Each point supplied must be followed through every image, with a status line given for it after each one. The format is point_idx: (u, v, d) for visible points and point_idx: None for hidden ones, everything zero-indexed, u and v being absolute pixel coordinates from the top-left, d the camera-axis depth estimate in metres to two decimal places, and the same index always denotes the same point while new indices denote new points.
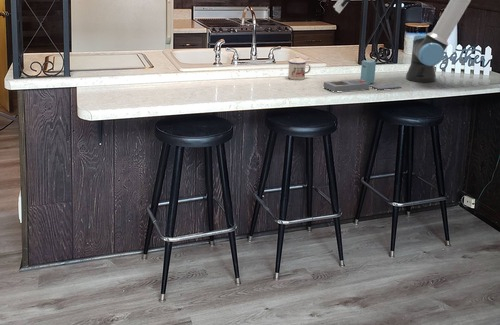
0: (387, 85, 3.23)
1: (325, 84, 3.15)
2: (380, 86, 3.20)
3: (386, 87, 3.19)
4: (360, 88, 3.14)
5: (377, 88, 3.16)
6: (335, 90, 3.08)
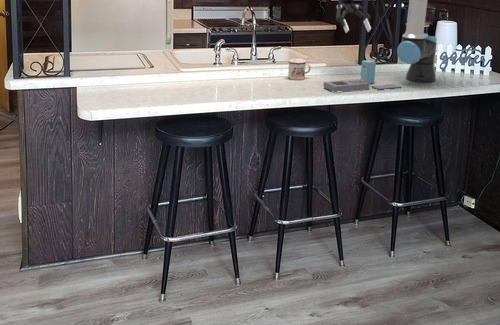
0: (387, 85, 3.23)
1: (325, 84, 3.15)
2: (380, 86, 3.20)
3: (386, 87, 3.19)
4: (360, 88, 3.14)
5: (377, 88, 3.16)
6: (335, 90, 3.08)
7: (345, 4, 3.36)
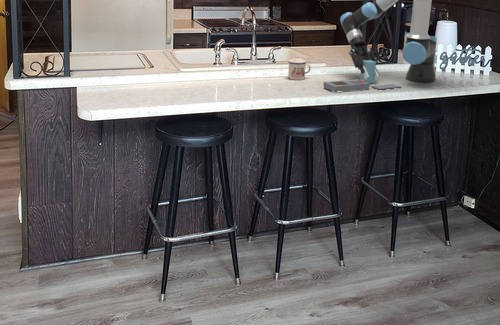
0: (387, 85, 3.23)
1: (325, 84, 3.15)
2: (380, 86, 3.20)
3: (386, 87, 3.19)
4: (360, 88, 3.14)
5: (378, 88, 3.16)
6: (335, 90, 3.08)
7: (356, 47, 3.31)
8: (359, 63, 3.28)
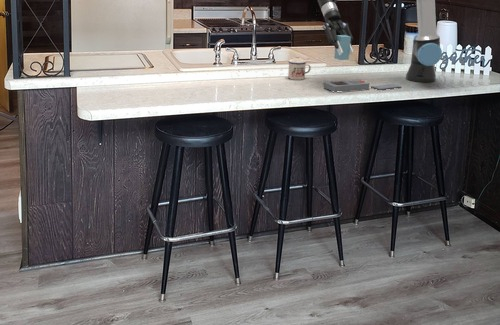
0: (387, 85, 3.23)
1: (325, 84, 3.15)
2: (380, 86, 3.20)
3: (386, 87, 3.19)
4: (360, 88, 3.14)
5: (378, 88, 3.16)
6: (335, 90, 3.08)
7: (330, 20, 3.13)
8: (333, 38, 3.09)
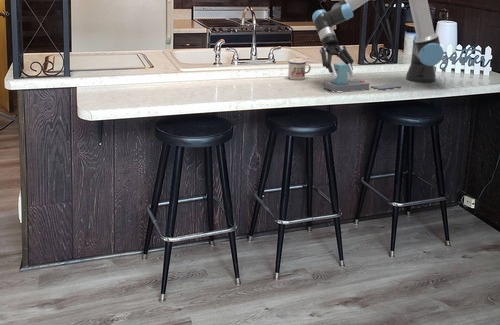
0: (386, 85, 3.23)
1: (325, 84, 3.15)
2: (380, 86, 3.20)
3: (386, 87, 3.19)
4: (360, 88, 3.14)
5: (378, 88, 3.16)
6: (335, 90, 3.08)
7: (328, 46, 3.15)
8: (328, 62, 3.11)
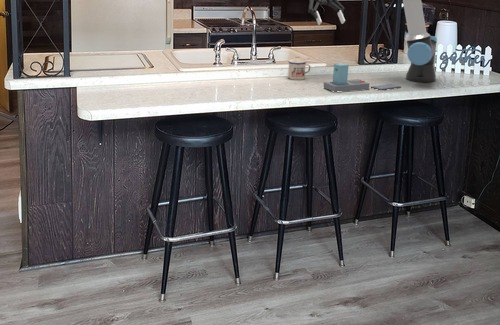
0: (386, 85, 3.23)
1: (325, 84, 3.15)
2: (380, 86, 3.20)
3: (387, 87, 3.19)
4: (360, 88, 3.14)
5: (379, 88, 3.16)
6: (335, 90, 3.08)
7: None
8: None
